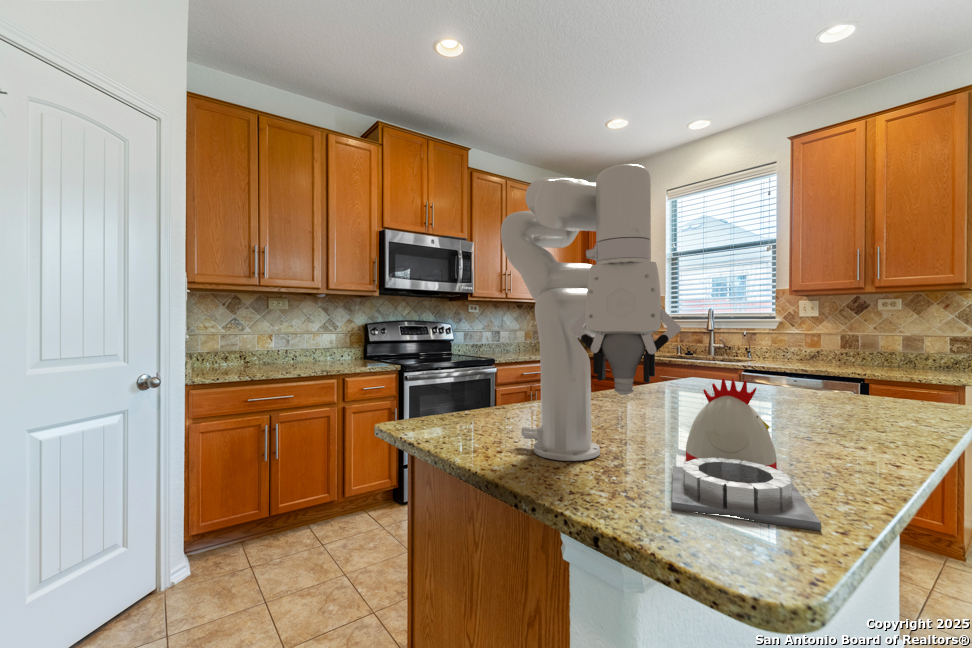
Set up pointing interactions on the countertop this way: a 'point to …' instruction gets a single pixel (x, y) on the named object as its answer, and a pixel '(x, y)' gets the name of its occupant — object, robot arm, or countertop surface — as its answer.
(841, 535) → the countertop surface
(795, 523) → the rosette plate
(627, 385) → the light bulb
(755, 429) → the kitchen timer
